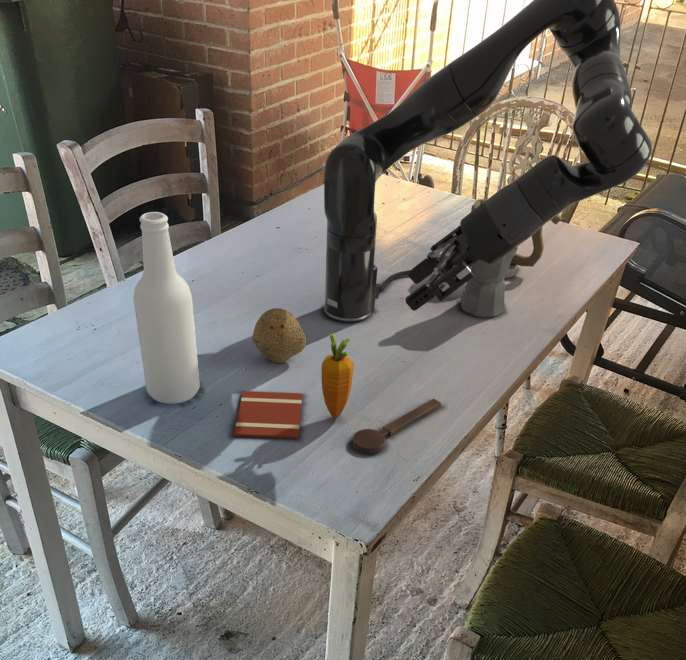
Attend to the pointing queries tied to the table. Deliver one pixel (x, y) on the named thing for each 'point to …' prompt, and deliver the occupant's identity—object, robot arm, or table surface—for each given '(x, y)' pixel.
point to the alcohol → (165, 318)
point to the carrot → (337, 378)
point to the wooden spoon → (390, 429)
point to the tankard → (517, 258)
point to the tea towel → (269, 415)
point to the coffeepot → (486, 288)
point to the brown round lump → (278, 335)
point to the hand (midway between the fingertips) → (410, 291)
